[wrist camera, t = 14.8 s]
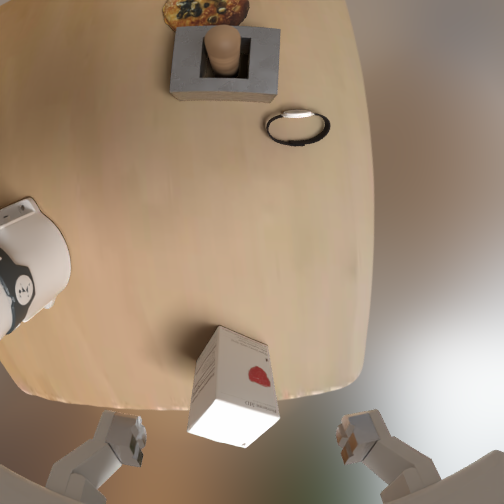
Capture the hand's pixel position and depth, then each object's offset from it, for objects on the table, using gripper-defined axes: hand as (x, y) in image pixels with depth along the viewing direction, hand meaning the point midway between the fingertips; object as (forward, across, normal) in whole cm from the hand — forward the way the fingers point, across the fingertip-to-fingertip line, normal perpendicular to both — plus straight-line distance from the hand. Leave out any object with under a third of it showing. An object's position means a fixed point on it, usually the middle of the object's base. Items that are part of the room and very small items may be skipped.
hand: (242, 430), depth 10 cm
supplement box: (+29, 0, +21) cm, 36 cm away
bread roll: (+30, +5, -30) cm, 42 cm away
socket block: (+29, +2, -20) cm, 35 cm away
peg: (+29, +2, -20) cm, 35 cm away
